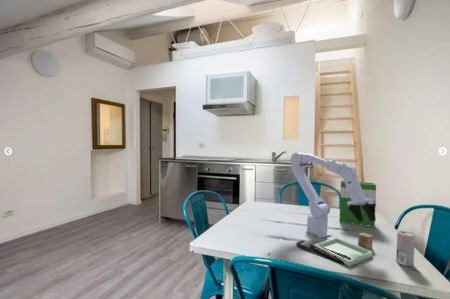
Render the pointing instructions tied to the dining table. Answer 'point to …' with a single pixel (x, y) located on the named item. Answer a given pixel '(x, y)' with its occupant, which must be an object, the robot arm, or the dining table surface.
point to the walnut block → (365, 241)
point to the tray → (345, 251)
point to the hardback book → (346, 214)
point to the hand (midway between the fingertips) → (366, 221)
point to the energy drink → (405, 248)
